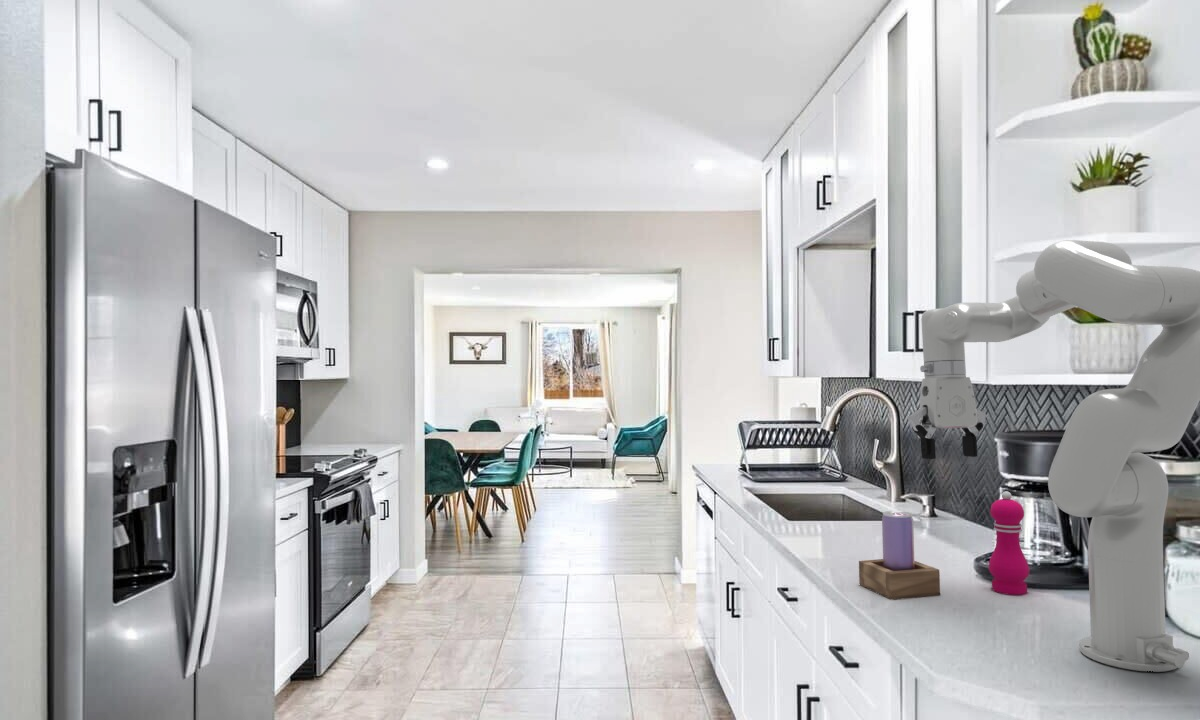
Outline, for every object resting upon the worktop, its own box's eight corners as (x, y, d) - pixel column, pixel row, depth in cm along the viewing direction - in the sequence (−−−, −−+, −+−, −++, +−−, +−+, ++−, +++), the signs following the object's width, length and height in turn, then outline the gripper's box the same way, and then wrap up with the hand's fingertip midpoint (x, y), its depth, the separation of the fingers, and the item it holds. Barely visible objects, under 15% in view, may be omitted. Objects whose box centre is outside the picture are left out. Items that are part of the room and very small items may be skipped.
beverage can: (906, 592, 150) (904, 517, 151) (878, 587, 155) (876, 513, 155) (920, 587, 154) (918, 513, 154) (892, 581, 159) (890, 509, 159)
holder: (940, 594, 150) (939, 569, 151) (891, 599, 148) (890, 573, 148) (905, 580, 161) (904, 557, 161) (859, 584, 159) (858, 561, 159)
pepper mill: (1035, 596, 148) (1032, 494, 149) (995, 595, 150) (992, 493, 150) (1022, 586, 155) (1019, 489, 156) (984, 585, 157) (981, 488, 157)
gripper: (920, 370, 144) (925, 460, 143) (995, 369, 149) (1000, 456, 148) (895, 372, 151) (899, 458, 150) (967, 371, 156) (972, 454, 155)
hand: (949, 457), depth 149 cm, fingers open, 9 cm apart
